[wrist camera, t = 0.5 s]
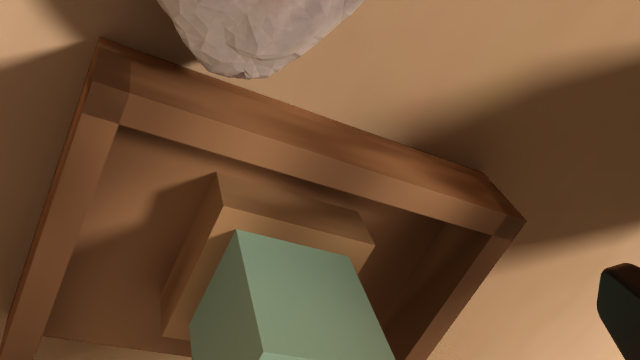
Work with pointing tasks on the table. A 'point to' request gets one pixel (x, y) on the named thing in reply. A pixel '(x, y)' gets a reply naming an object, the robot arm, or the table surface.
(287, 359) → the teal block
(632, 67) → the table surface
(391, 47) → the table surface
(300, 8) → the stone block
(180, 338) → the caddy
